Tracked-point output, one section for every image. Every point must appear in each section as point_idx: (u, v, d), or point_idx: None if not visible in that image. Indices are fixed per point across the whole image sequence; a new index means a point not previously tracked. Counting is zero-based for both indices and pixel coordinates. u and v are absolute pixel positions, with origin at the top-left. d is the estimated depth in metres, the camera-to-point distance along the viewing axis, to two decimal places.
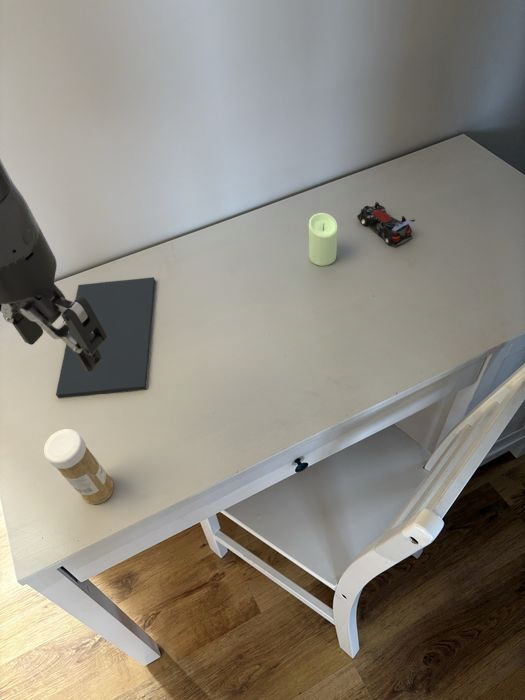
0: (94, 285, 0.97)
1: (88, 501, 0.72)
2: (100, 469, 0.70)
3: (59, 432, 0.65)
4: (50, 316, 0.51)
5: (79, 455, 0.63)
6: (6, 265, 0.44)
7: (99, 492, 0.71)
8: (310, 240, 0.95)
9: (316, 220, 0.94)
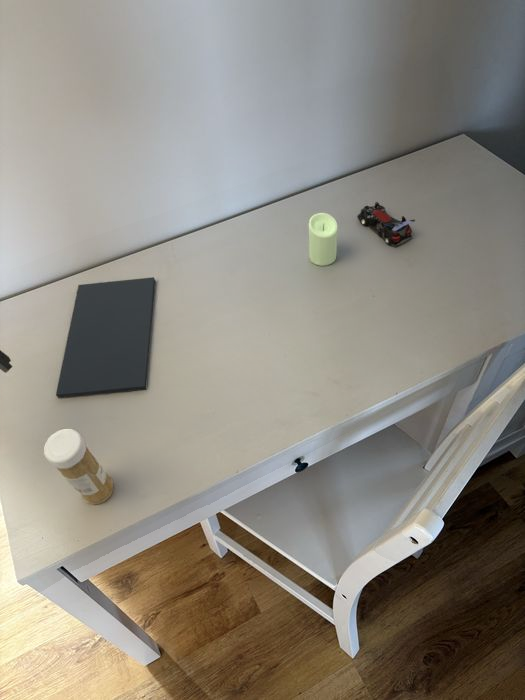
0: (94, 285, 0.97)
1: (88, 501, 0.72)
2: (100, 469, 0.70)
3: (59, 432, 0.65)
4: None
5: (79, 454, 0.63)
6: None
7: (99, 492, 0.71)
8: (310, 240, 0.95)
9: (316, 220, 0.94)
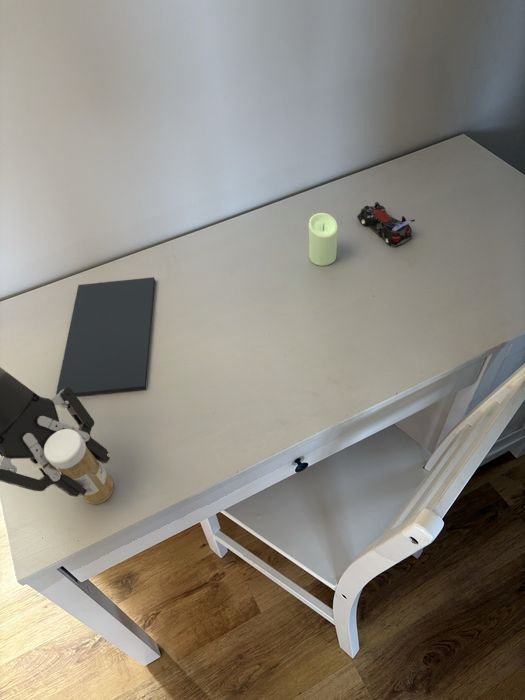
0: (94, 285, 0.97)
1: (88, 501, 0.72)
2: (100, 469, 0.70)
3: (59, 432, 0.65)
4: (54, 409, 0.67)
5: (79, 455, 0.63)
6: (4, 372, 0.63)
7: (99, 492, 0.71)
8: (310, 240, 0.95)
9: (316, 220, 0.94)
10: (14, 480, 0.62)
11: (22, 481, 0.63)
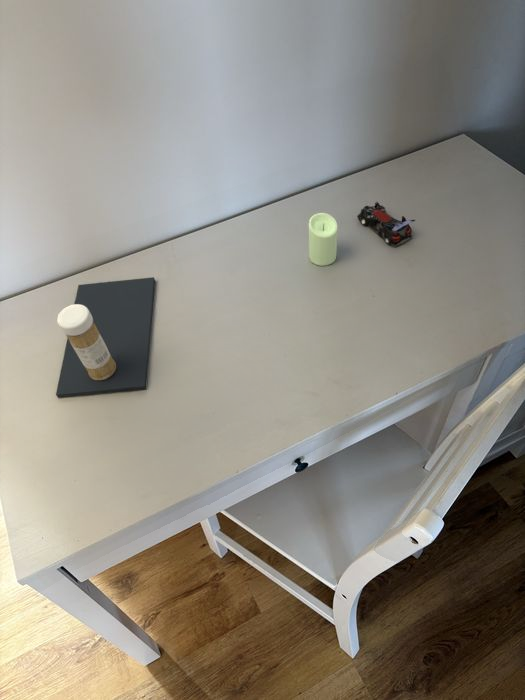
0: (94, 285, 0.97)
1: (107, 374, 0.84)
2: None
3: (60, 314, 0.75)
4: None
5: None
6: None
7: (110, 356, 0.84)
8: (310, 240, 0.95)
9: (316, 220, 0.94)
10: None
11: None
